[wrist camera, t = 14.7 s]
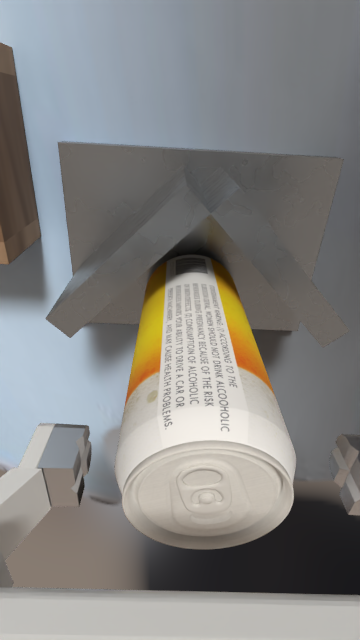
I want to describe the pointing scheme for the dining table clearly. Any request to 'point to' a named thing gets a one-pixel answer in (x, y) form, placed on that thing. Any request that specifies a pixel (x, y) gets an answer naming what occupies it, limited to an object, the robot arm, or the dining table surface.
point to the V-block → (195, 230)
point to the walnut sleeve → (14, 169)
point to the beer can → (201, 417)
